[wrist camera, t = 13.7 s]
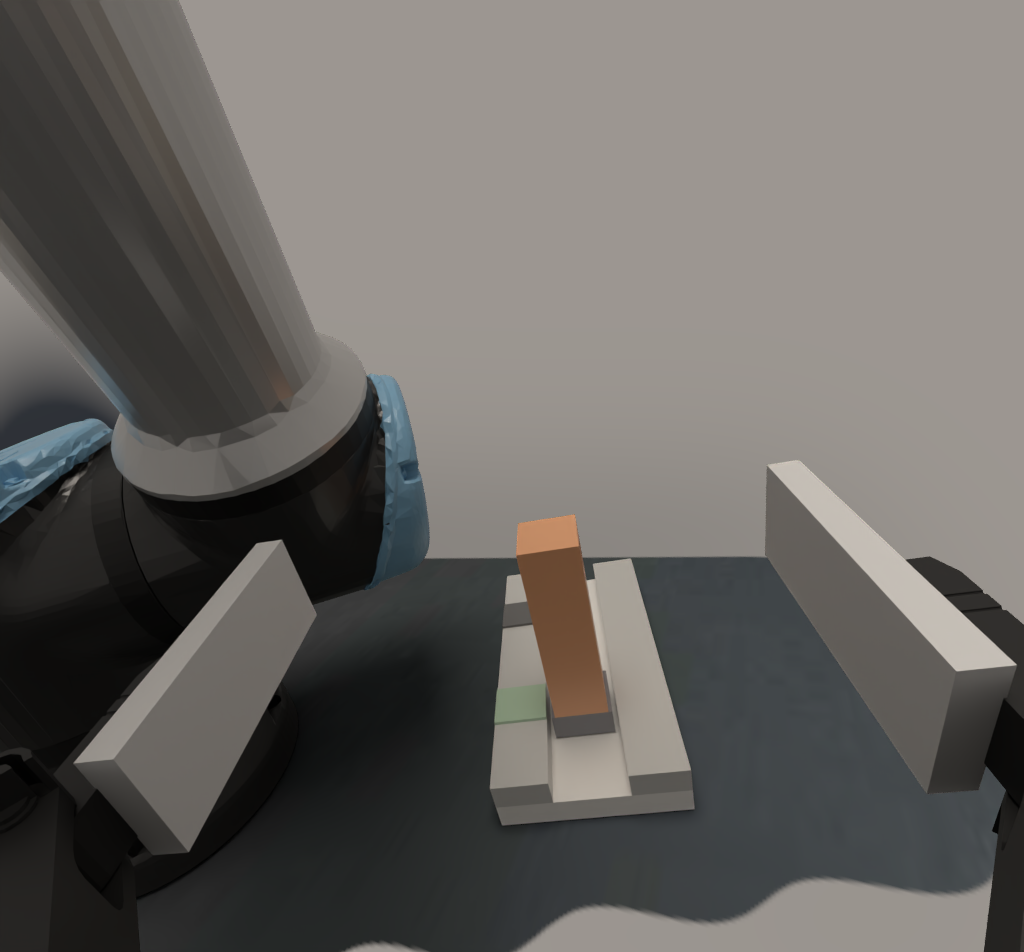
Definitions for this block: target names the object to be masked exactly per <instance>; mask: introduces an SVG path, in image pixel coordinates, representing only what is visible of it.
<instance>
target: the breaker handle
mask: <svg viewBox="0 0 1024 952" xmlns="http://www.w3.org/2000/svg"><path fill="white" fill-rule="evenodd" d="M516 556H517V561H518V565H519V569H520V574H521V578H522V582H523V586H524V590H525V594H526V599H527V603H528V607H529V611H530V615H531V619H532V624H533V628H534V632H535V636H536V640H537V645H538V649H539V653H540V657H541V661H542V665H543V670H544V674H545V678H546V682H547V686H548V691H549V695H550V699H551V718H552V722H553V726H554V731H555V735H556V738H559V737H568V736H578V735H588V734H597V733H607V732H616V730H615V724H614V717H613V711H612V705H611V698H610V692H609V686H608V680H607V674H606V670H604V671H602V665H601V659H600V654H599V648H598V642H597V637H596V631H595V626H594V620H593V614H592V609H591V603H590V597H589V592H588V586H587V580H586V575H585V569H584V563H583V558H582V552H581V546H580V541H579V535H578V529H577V524H576V519H575V515H568V516H562V517H555V518H549V519H543V520H536V521H530V522H524V523H518V534H517V550H516Z"/></svg>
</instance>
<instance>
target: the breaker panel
mask: <svg viewBox="0 0 1024 952" xmlns="http://www.w3.org/2000/svg"><path fill="white" fill-rule="evenodd" d="M593 567H594V573H595V579H593V580H587V586H588V592H589V597H590V603H591V609H592V614H593V620H594V626H595V631H596V637H597V642H598V648H599V654H600V659H601V665H602V671H604V670H606V674H607V680H608V686H609V692H610V698H611V705H612V711H613V717H614V724H615V730H616V732H607V733H597V734H588V735H578V736H568V737H559V738H556V735H555V731H554V726H553V722H552V718H551V699H550V695H549V691H548V686H547V682H546V678H545V674H544V670H543V665H542V661H541V657H540V653H539V649H538V645H537V640H536V636H535V632H534V628H533V624H532V619H531V615H530V611H529V607H528V603H527V599H526V594H525V590H524V586H523V582H522V578H521V574H520V575H513V576H507V587H506V599H505V604H504V614H503V626H502V627H503V635H502V647H501V659H500V671H499V683H498V689H497V696H496V708H495V720H494V723H495V731H494V743H493V755H492V767H491V780H490V791H491V794H492V797H493V800H494V803H495V806H496V809H497V812H498V815H499V818H500V821H501V824H502V826H503V825H514V824H526V823H538V822H550V821H562V820H574V819H585V818H597V817H609V816H621V815H633V814H644V813H656V812H668V811H680V810H692V809H695V807H694V797H693V786H692V775H691V768H690V765H689V761H688V758H687V754H686V751H685V747H684V744H683V740H682V737H681V733H680V730H679V726H678V723H677V719H676V716H675V712H674V709H673V705H672V702H671V698H670V695H669V691H668V688H667V684H666V681H665V677H664V674H663V670H662V667H661V663H660V659H659V656H658V652H657V649H656V645H655V642H654V638H653V635H652V631H651V628H650V624H649V621H648V617H647V614H646V610H645V607H644V603H643V600H642V596H641V593H640V589H639V586H638V582H637V579H636V575H635V572H634V568H633V565H632V561H631V559H624V560H617V561H610V562H603V563H596V564H593Z"/></svg>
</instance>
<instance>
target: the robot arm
mask: <svg viewBox="0 0 1024 952" xmlns="http://www.w3.org/2000/svg"><path fill="white" fill-rule="evenodd" d="M0 271H1V272H2V273H3V274H4V276H5V277H6V278H7V279H8V280H9V282H10V283H11V284H12V285H13V286H14V287H15V289H16V290H17V291H18V292H19V293H20V295H21V296H22V297H23V298H24V299H25V300H26V302H27V303H28V304H29V305H30V306H31V308H32V309H33V310H34V311H35V312H36V313H37V315H38V316H39V317H40V318H41V319H42V321H43V322H44V323H45V324H46V325H47V326H48V328H49V329H50V330H51V331H52V332H53V333H54V335H55V336H56V337H57V338H58V339H59V340H60V342H61V343H62V344H63V345H64V346H65V348H66V349H67V350H68V351H69V352H70V354H71V355H72V356H73V357H74V358H75V359H76V361H77V362H78V363H79V364H80V365H81V366H82V368H83V369H84V370H85V371H86V372H87V374H88V375H89V376H90V377H91V378H92V380H93V381H94V382H95V383H96V384H97V385H98V387H99V388H100V389H101V390H102V391H103V393H104V394H105V395H106V396H107V397H108V398H109V400H110V401H111V402H112V403H113V404H114V405H115V407H116V408H117V409H118V410H119V411H120V415H119V417H118V420H117V423H116V425H115V428H114V430H111V429H110V428H109V427H108V426H107V425H105V424H104V423H103V422H102V421H100V420H97V419H86V420H85V421H81V422H77V423H71V424H68V425H66V426H63V427H60V428H57V429H54V430H52V431H49V432H46V433H44V434H41V435H39V436H36V437H33V438H31V439H28V440H26V441H23V442H21V443H18V444H16V445H13V446H11V447H8V448H6V449H4V450H1V451H0V952H140V943H139V930H138V916H137V903H136V897H138V896H141V895H143V894H146V893H148V892H150V891H153V890H155V889H157V888H159V887H161V886H163V885H165V884H167V883H169V882H170V881H172V880H174V879H176V878H177V877H179V876H181V875H182V874H184V873H186V872H187V871H189V870H190V869H192V868H193V867H195V866H196V865H197V864H199V863H200V862H202V861H203V860H204V859H206V858H207V857H208V856H210V855H211V854H212V853H213V852H215V851H216V850H217V849H218V848H220V847H221V846H222V845H223V844H224V843H225V842H227V841H228V840H229V839H230V838H231V837H232V836H233V835H234V834H235V833H236V832H237V831H238V830H239V829H240V828H241V827H242V826H243V825H244V824H245V823H246V822H247V821H248V820H249V819H250V818H251V817H252V816H253V814H254V813H255V812H256V811H257V810H258V809H259V807H260V806H261V805H262V804H263V803H264V801H265V800H266V799H267V797H268V796H269V795H270V793H271V792H272V790H273V789H274V787H275V786H276V784H277V783H278V781H279V779H280V778H281V776H282V774H283V772H284V771H285V769H286V767H287V765H288V763H289V760H290V758H291V755H292V753H293V750H294V747H295V744H296V739H297V734H298V715H297V711H296V708H295V705H294V703H293V701H292V699H291V698H290V696H289V694H288V692H287V690H286V688H285V686H284V685H283V683H282V682H281V680H282V678H283V676H284V674H285V673H286V671H287V669H288V667H289V665H290V663H291V661H292V660H293V658H294V656H295V654H296V652H297V650H298V648H299V647H300V645H301V643H302V641H303V639H304V637H305V635H306V634H307V632H308V630H309V628H310V626H311V624H312V622H313V621H314V619H315V617H316V615H317V614H316V612H315V610H314V608H313V606H312V605H314V604H317V603H320V602H324V601H327V600H330V599H333V598H337V597H340V596H343V595H346V594H350V593H353V592H356V591H359V590H368V589H372V588H374V587H375V586H376V585H378V584H379V582H381V581H384V580H386V579H389V578H392V577H394V576H397V575H400V574H402V573H405V572H408V571H410V570H412V569H414V568H415V567H417V566H418V565H419V564H420V563H421V562H422V560H423V559H424V558H425V556H426V554H427V551H428V547H429V538H430V537H429V522H428V514H427V506H426V500H425V493H424V489H423V483H422V478H421V475H420V472H419V470H418V460H417V455H416V447H415V442H414V437H413V433H412V428H411V424H410V420H409V416H408V413H407V409H406V405H405V402H404V399H403V396H402V393H401V390H400V388H399V385H398V383H397V382H396V380H395V379H394V378H393V377H391V376H387V375H380V376H378V375H375V374H369V375H368V376H366V373H365V370H364V367H363V365H362V363H361V361H360V360H359V358H358V357H357V355H356V354H355V353H354V351H353V350H352V349H351V348H349V347H348V346H347V345H345V344H344V343H343V342H340V341H339V340H336V339H334V338H332V337H330V336H326V335H324V334H321V333H318V332H315V330H314V327H313V325H312V323H311V320H310V318H309V315H308V313H307V311H306V308H305V306H304V303H303V301H302V299H301V296H300V294H299V291H298V289H297V286H296V284H295V281H294V279H293V276H292V274H291V272H290V269H289V267H288V265H287V262H286V259H285V257H284V255H283V252H282V250H281V247H280V245H279V243H278V240H277V238H276V235H275V233H274V230H273V228H272V226H271V223H270V221H269V218H268V216H267V214H266V211H265V209H264V206H263V204H262V201H261V199H260V196H259V194H258V192H257V189H256V187H255V184H254V182H253V180H252V177H251V175H250V172H249V170H248V167H247V165H246V163H245V160H244V158H243V155H242V153H241V150H240V148H239V145H238V143H237V141H236V138H235V136H234V134H233V131H232V129H231V126H230V124H229V121H228V119H227V116H226V114H225V112H224V109H223V107H222V104H221V102H220V99H219V97H218V95H217V92H216V90H215V88H214V85H213V83H212V80H211V78H210V75H209V73H208V70H207V68H206V66H205V63H204V61H203V58H202V56H201V53H200V51H199V49H198V46H197V44H196V41H195V39H194V36H193V34H192V32H191V29H190V27H189V24H188V22H187V19H186V17H185V15H184V12H183V10H182V7H181V5H180V3H179V0H0ZM765 541H766V542H765V555H766V556H767V558H768V559H769V561H770V562H771V564H772V565H773V567H774V568H775V570H776V571H777V573H778V574H779V576H780V577H781V579H782V580H783V582H784V583H785V585H786V586H787V587H788V589H789V590H790V592H791V593H792V595H793V596H794V598H795V599H796V601H797V602H798V604H799V605H800V607H801V608H802V610H803V611H804V613H805V614H806V616H807V617H808V619H809V620H810V622H811V623H812V625H813V626H814V628H815V629H816V630H817V632H818V633H819V635H820V636H821V638H822V639H823V641H824V642H825V644H826V645H827V647H828V648H829V650H830V651H831V653H832V654H833V656H834V657H835V659H836V660H837V662H838V663H839V665H840V666H841V668H842V669H843V671H844V672H845V674H846V675H847V676H848V678H849V679H850V681H851V682H852V684H853V685H854V687H855V688H856V690H857V691H858V693H859V694H860V696H861V697H862V699H863V700H864V702H865V703H866V705H867V706H868V708H869V709H870V711H871V712H872V714H873V715H874V717H875V718H876V719H877V721H878V722H879V724H880V725H881V727H882V728H883V730H884V731H885V733H886V734H887V736H888V737H889V739H890V740H891V742H892V743H893V745H894V746H895V748H896V749H897V751H898V752H899V754H900V755H901V757H902V758H903V760H904V761H905V762H906V764H907V765H908V767H909V768H910V770H911V771H912V773H913V774H914V776H915V777H916V779H917V780H918V782H919V783H920V785H921V786H922V788H923V789H924V791H925V792H926V794H935V793H948V792H961V791H973V790H979V787H980V783H981V780H982V777H983V774H984V771H985V767H986V766H987V767H988V768H989V770H990V771H991V772H992V773H993V775H994V776H995V777H996V778H997V780H998V781H999V782H1000V783H1001V784H1002V786H1003V787H1004V788H1005V789H1006V792H1005V795H1004V798H1003V801H1002V803H1001V806H1000V809H999V812H998V815H997V818H996V821H995V824H994V827H993V829H992V831H993V832H995V833H997V834H998V839H997V848H996V856H995V864H994V872H993V880H992V889H991V898H990V906H989V914H988V922H987V930H986V938H985V947H984V952H1024V625H1023V624H1022V623H1021V622H1020V621H1019V620H1018V619H1016V618H1015V617H1014V616H1013V615H1012V614H1010V613H1009V612H1008V611H1007V610H1002V607H1001V605H1000V604H998V603H997V602H996V601H995V600H994V599H993V598H991V597H990V596H989V595H988V594H984V593H983V590H982V589H981V588H979V587H978V586H977V585H976V584H975V583H974V582H972V581H971V580H970V579H969V578H968V577H967V576H965V575H964V574H963V573H962V572H960V571H959V570H957V569H955V568H952V567H951V566H948V565H946V564H944V563H942V562H940V561H938V560H936V559H934V558H932V557H923V558H915V559H907V560H905V559H903V558H902V557H901V556H900V555H899V554H898V553H897V552H896V551H895V550H894V549H893V548H892V547H891V546H890V545H889V544H888V543H886V542H885V541H884V540H883V539H882V538H881V537H880V536H879V535H878V534H877V533H876V532H875V531H874V530H873V529H872V528H870V527H869V526H868V525H867V524H866V523H865V522H864V521H863V520H862V519H861V518H860V517H859V516H858V515H857V514H856V513H855V512H854V511H852V510H851V509H850V508H849V507H848V506H847V505H846V504H845V503H844V502H843V501H842V500H841V499H840V498H838V496H836V495H835V494H834V493H833V492H832V491H831V490H830V489H829V488H828V487H827V486H826V485H825V484H824V483H823V482H822V481H820V480H819V479H818V478H817V477H816V476H815V475H814V474H813V473H812V472H811V471H810V470H809V469H808V468H807V467H806V466H805V465H803V464H802V463H801V462H800V461H799V460H796V461H790V462H783V463H776V464H770V465H767V485H766V539H765Z"/></svg>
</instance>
